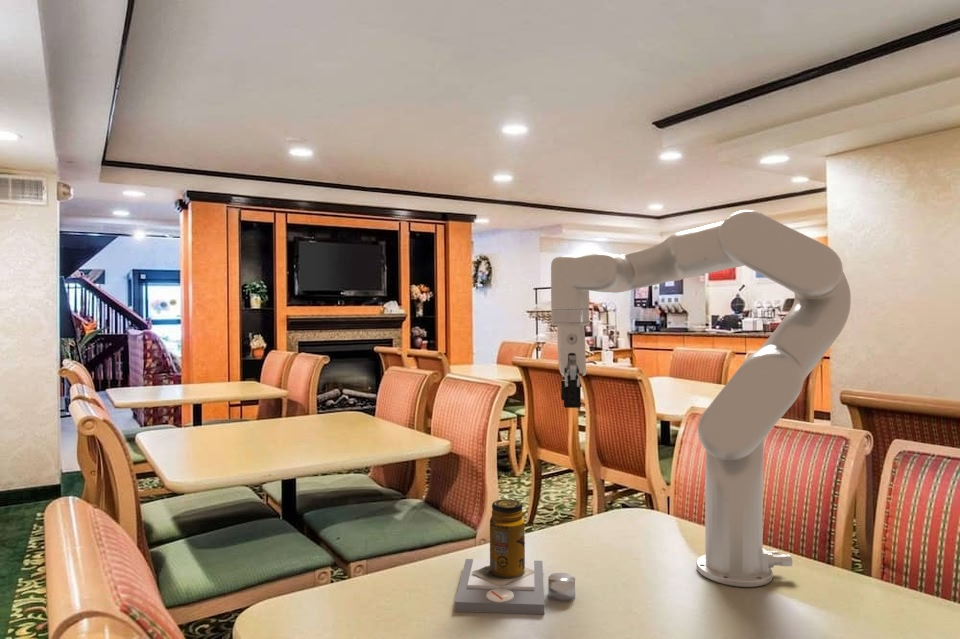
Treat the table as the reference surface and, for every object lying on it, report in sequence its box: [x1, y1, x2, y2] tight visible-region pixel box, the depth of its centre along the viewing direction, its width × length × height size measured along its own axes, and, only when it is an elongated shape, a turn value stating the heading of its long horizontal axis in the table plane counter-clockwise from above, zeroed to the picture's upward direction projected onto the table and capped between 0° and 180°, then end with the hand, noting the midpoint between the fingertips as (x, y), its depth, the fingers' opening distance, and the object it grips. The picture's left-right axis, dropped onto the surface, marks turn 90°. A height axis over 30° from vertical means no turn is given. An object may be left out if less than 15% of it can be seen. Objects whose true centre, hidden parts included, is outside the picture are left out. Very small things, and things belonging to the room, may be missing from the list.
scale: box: [454, 558, 545, 615], centre depth 107 cm, size 14×17×2 cm
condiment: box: [471, 498, 535, 586], centre depth 108 cm, size 7×8×12 cm
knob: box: [547, 572, 576, 603], centre depth 104 cm, size 4×4×3 cm
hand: (570, 403), depth 126 cm, fingers open, 9 cm apart
